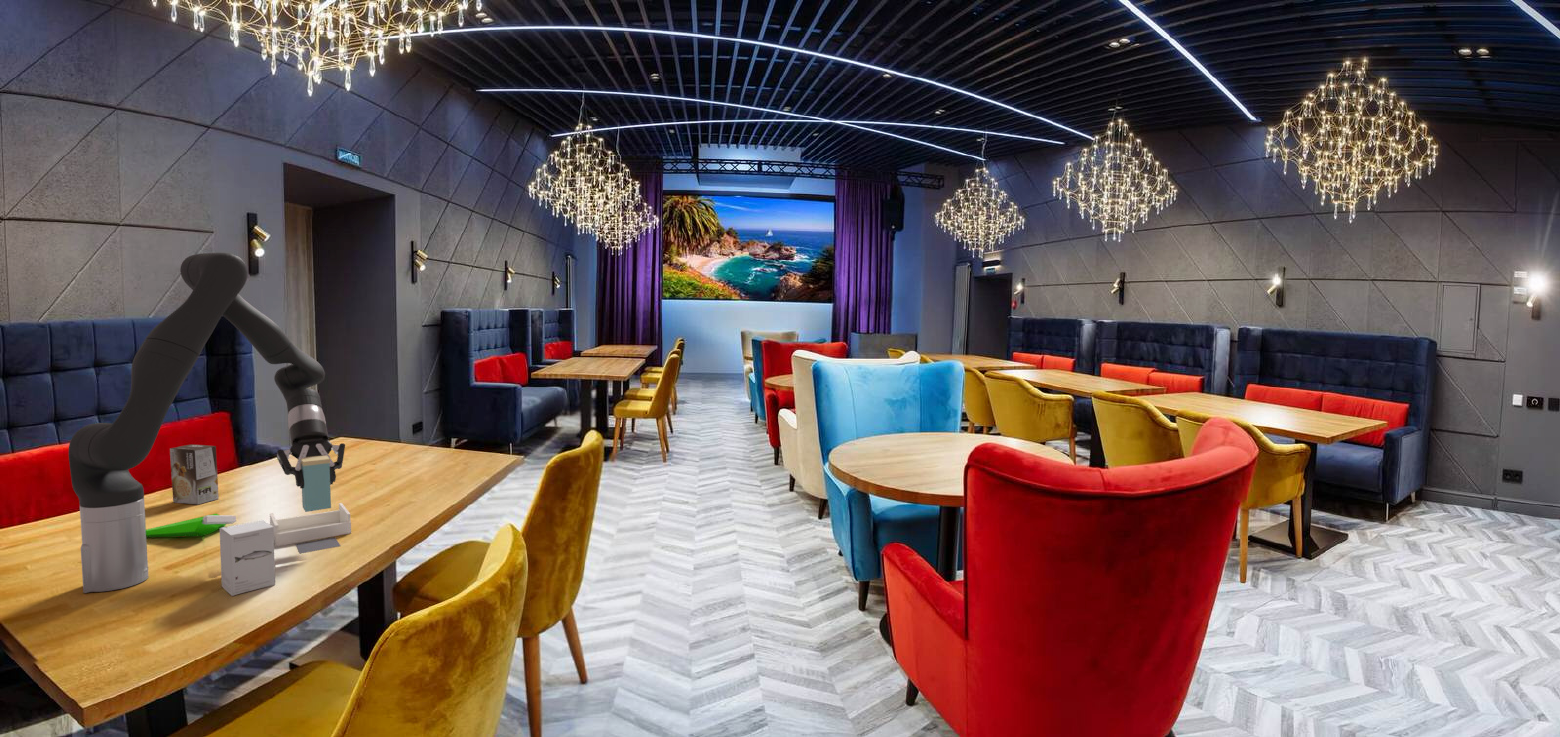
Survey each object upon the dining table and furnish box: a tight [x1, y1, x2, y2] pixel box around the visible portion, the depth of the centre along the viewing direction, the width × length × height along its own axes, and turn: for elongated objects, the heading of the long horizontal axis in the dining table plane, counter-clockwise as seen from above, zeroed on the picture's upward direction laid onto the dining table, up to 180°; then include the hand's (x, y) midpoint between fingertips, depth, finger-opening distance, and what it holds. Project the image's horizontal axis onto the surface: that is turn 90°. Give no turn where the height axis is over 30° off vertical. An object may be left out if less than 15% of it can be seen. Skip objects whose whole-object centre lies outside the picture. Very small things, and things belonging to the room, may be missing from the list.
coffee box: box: [169, 444, 220, 505], centre depth 190 cm, size 9×6×16 cm
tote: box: [269, 502, 352, 547], centre depth 165 cm, size 15×13×6 cm
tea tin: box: [300, 456, 332, 513], centre depth 156 cm, size 5×5×12 cm
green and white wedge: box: [146, 513, 237, 538], centre depth 162 cm, size 11×5×25 cm
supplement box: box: [219, 519, 276, 597], centre depth 134 cm, size 7×7×13 cm
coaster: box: [294, 536, 341, 555], centre depth 157 cm, size 8×8×1 cm
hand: (317, 484), depth 155 cm, fingers closed on tea tin, 5 cm apart
